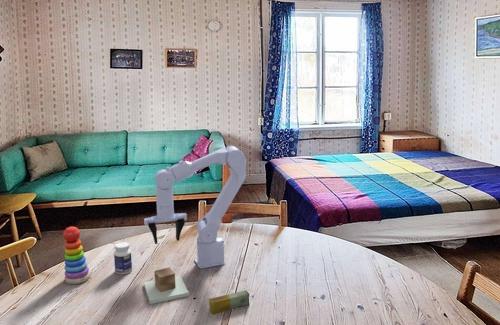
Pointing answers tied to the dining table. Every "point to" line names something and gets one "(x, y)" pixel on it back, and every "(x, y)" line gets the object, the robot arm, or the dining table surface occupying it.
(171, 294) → the sage tile
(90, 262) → the dining table surface
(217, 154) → the robot arm
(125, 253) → the pill bottle
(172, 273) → the walnut cube
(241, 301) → the medication box
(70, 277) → the stacking toy
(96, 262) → the dining table surface
